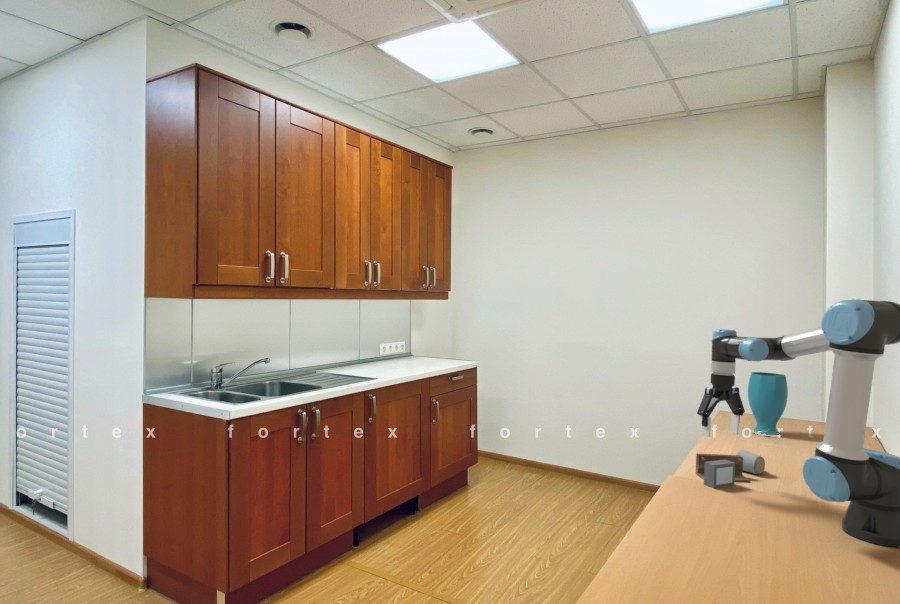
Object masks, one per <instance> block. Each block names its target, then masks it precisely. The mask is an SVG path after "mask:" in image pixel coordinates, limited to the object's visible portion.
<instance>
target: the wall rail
mask: <svg viewBox="0 0 900 604" xmlns="http://www.w3.org/2000/svg"><path fill="white" fill-rule="evenodd" d="M695 455H696V456H695V461H696V462H695V475H697V476H698V477H700V478H701V479H702V480H703V481H704V465H705V462H708V461H717V460H728V461H731V462H734V463H735V481H734V483H751V479H749V478H747V477H746V476H744V475H743V472H744V471H743V457H742V456H740V455H736V454H716V453H714V454H713V453H712V454H711V453H698V452H697V453H696V454H695Z"/></svg>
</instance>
